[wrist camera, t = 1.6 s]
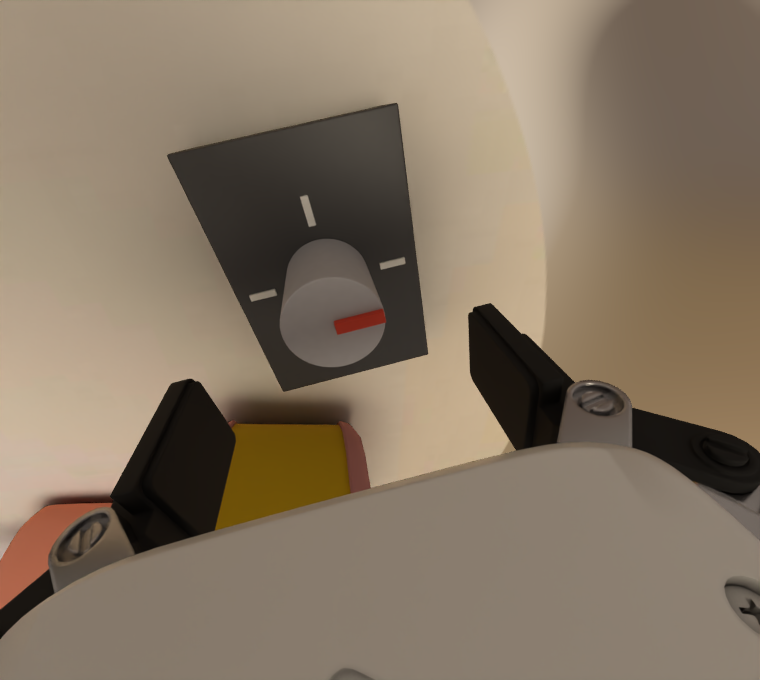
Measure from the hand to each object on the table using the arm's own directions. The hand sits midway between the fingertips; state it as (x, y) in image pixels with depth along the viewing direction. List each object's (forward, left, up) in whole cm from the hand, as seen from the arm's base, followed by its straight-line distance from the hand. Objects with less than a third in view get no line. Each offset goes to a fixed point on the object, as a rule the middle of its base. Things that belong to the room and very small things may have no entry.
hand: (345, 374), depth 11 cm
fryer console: (0, 0, -11) cm, 11 cm away
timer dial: (0, 0, -8) cm, 8 cm away
